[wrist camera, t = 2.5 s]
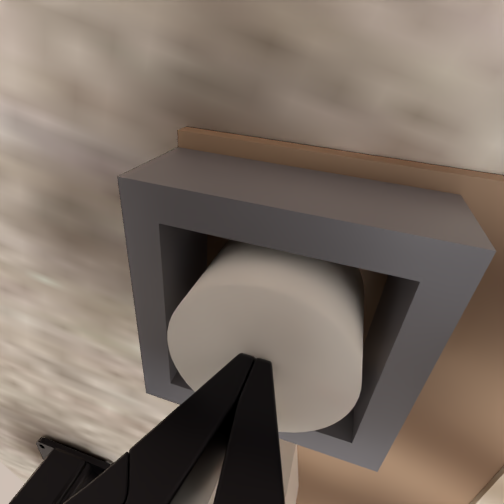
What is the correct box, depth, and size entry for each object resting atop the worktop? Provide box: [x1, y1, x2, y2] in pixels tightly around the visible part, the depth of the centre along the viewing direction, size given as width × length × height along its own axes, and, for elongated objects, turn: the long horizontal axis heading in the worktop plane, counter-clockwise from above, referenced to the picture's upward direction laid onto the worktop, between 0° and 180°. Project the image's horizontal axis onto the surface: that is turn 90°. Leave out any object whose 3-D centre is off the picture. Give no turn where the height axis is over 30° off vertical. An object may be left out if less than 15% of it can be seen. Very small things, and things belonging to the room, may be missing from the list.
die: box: [208, 439, 299, 504], centre depth 16 cm, size 4×4×4 cm
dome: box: [167, 239, 364, 433], centre depth 10 cm, size 5×5×3 cm
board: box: [177, 127, 504, 504], centre depth 14 cm, size 21×21×1 cm
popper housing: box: [117, 147, 496, 472], centre depth 10 cm, size 8×8×3 cm
